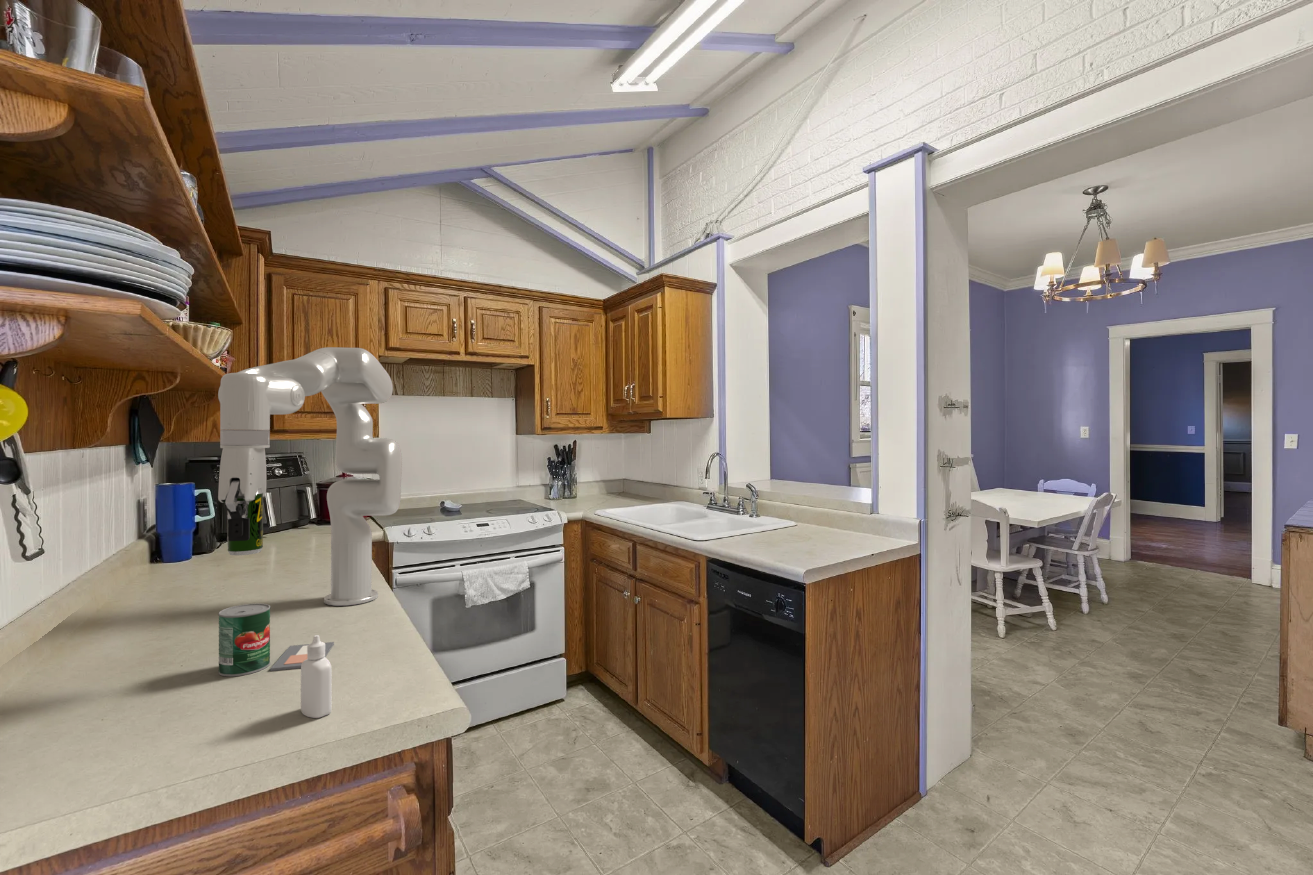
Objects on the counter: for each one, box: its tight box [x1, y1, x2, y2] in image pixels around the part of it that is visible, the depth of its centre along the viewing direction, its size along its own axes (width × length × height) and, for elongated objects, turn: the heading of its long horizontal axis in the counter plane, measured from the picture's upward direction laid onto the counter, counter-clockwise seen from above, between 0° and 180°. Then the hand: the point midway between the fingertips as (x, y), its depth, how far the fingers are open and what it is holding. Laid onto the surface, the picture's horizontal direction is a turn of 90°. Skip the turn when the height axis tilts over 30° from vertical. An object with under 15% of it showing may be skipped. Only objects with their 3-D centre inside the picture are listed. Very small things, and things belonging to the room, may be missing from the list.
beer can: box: [227, 488, 264, 556], centre depth 108 cm, size 5×5×12 cm
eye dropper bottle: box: [300, 634, 333, 719], centre depth 92 cm, size 4×6×12 cm
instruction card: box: [270, 641, 335, 672], centre depth 114 cm, size 12×8×1 cm, turn 17°
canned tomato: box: [218, 602, 271, 678], centre depth 108 cm, size 8×8×11 cm
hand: (245, 536), depth 108 cm, fingers closed on beer can, 5 cm apart
